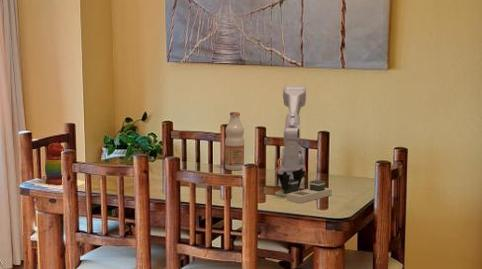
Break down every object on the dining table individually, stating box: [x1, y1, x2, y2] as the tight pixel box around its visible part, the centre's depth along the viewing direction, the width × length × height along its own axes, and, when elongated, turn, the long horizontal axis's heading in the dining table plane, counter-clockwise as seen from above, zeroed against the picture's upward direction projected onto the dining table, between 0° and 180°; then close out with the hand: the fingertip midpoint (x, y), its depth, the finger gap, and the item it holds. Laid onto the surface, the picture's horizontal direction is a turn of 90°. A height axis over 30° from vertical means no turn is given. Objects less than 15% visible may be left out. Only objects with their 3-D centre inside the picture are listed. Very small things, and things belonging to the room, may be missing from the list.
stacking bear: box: [44, 141, 66, 186], centre depth 306 cm, size 11×10×18 cm
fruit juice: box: [224, 111, 245, 171], centre depth 340 cm, size 9×9×28 cm
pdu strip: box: [286, 187, 333, 204], centre depth 279 cm, size 7×20×3 cm, turn 136°
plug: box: [284, 179, 299, 194], centre depth 284 cm, size 4×4×6 cm
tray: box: [274, 190, 287, 198], centre depth 285 cm, size 9×9×2 cm
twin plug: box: [309, 179, 326, 192], centre depth 282 cm, size 4×4×6 cm
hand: (290, 189), depth 284 cm, fingers open, 7 cm apart
